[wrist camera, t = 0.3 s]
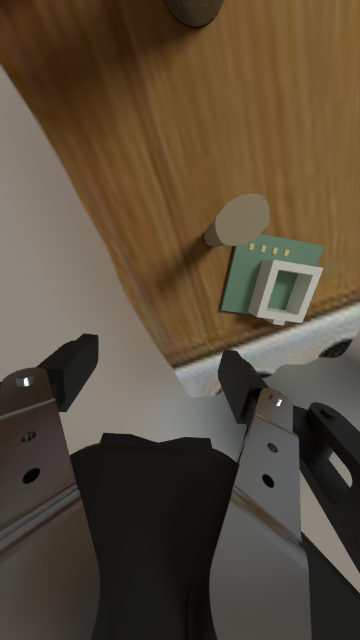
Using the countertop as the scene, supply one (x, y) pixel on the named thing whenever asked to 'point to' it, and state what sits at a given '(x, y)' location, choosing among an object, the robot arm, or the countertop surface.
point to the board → (249, 264)
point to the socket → (299, 294)
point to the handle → (239, 221)
